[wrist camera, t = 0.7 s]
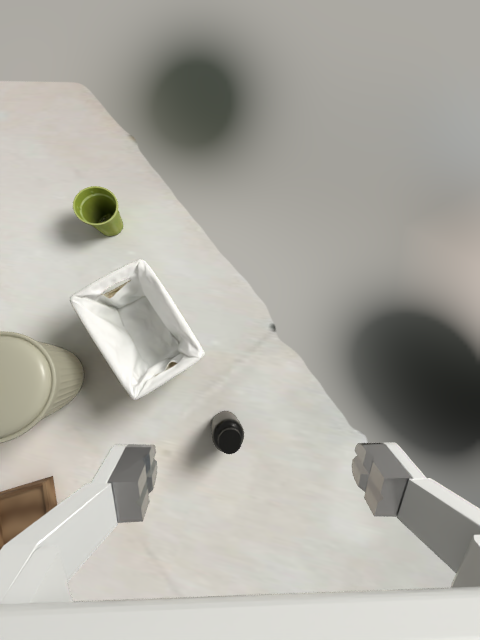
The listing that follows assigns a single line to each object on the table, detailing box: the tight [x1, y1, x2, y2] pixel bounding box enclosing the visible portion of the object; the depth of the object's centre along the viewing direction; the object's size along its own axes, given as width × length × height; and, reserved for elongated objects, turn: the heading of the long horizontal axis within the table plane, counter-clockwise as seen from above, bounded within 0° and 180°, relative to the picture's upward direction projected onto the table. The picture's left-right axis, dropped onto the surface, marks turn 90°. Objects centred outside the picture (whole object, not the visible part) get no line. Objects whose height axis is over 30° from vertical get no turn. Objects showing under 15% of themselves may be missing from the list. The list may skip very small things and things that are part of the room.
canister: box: [0, 332, 84, 443], centre depth 45 cm, size 18×18×21 cm
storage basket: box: [70, 259, 205, 400], centre depth 52 cm, size 24×16×15 cm
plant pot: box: [73, 186, 123, 236], centre depth 58 cm, size 9×9×9 cm
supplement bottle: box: [211, 411, 244, 454], centre depth 53 cm, size 7×7×12 cm
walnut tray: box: [0, 476, 57, 550], centre depth 50 cm, size 10×10×2 cm
